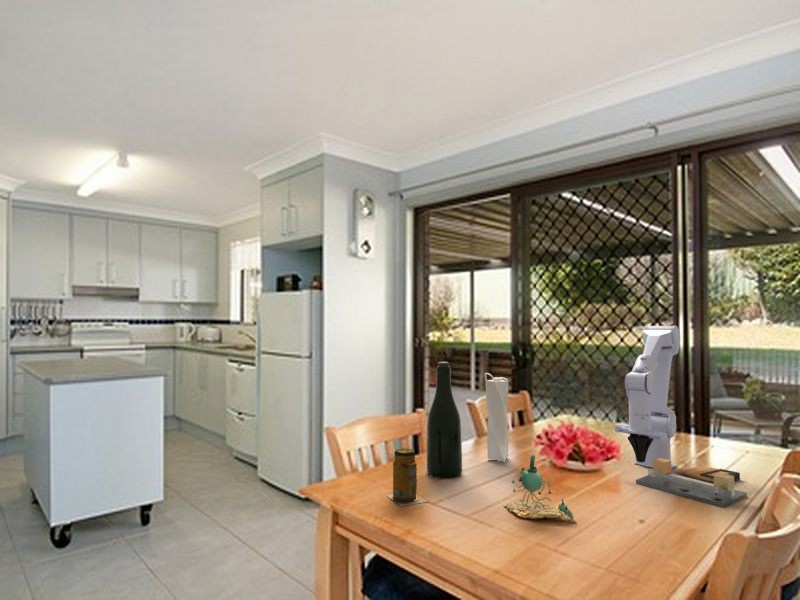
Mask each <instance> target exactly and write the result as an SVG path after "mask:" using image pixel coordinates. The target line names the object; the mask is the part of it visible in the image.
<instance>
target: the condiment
mask: <svg viewBox="0 0 800 600" xmlns="http://www.w3.org/2000/svg"><path fill="white" fill-rule="evenodd" d="M417 473H418V469H417V461H416V452H415V450H414V449H412V448H405V447H403V448H397V449H396V450H395V451H394V461H393V462H392V493H391V494H390V493H389V494H386V495H385V496H386V497H387V498H389V499H390V500H392V502H394V503H395V504H397V505H399V506H400V507H402V506H403V507H405V506H410V505H411V506H412V505H417V504H421V503H422V504H423V503H427V501H426V500H425V499H424V498H422V497H421V496H419V499H418V500H416V501H414V500H415V499H416V495H417V489H418V487H417V486H418V483H417V482H418V479H417V478H418V477H417ZM392 495H393V497H392ZM391 498H393V499H391Z"/></svg>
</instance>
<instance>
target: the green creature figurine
mask: <svg viewBox="0 0 800 600" xmlns="http://www.w3.org/2000/svg"><path fill="white" fill-rule="evenodd" d="M529 459H530V460H529V468H526V470H525V467H522V468H521V471H520V477H519V478H518V481H519V482H521V485H520V486H518V485H517V484H516V482H515V480H514V479H512V480H511V484H514V485H515V486H516V487H517V488H518V489H519V490H516V489H515V488H513V490H512V492H513V493H516V492H521V490H520V489H521V488H522V487H523V489H522V492H524V496H523V499H522V500H521V499H519V500H518V501H519V502H517V501H514V502H506V503H505V504H502V505H503V506H502V507H505V508H506V509H507V510H508V512H510V513H514V514H516V516H517V517H520V518H524V519H527V518H528V519H533V520H534V519H543V518H548V519H550V518H551V519H555V520H557V521H559V522H560V521H563V522H565V523H571V524H572V523H577V521H576V519H574V514H573V512H572V511H570V509H569V508H568V505H567V504H565V503H564V498H562V499H561V503H559V505H558V506H555V505H552V504H550V503H551V502H552V500H551V498H549V497H548V496H546V497H544V498H540V499H539V498H538V496H536V495H535V494H534V493H535V492H537V493H538V495H539V496H541V495H542V492H543V490H544V488H545V487H546V485H545V484H544V483H547V484H548V490H549V491H548V492H547V494H549V495H552V491H551V488H550V482H549V481H547V480H543V478H542V477H543V476H542V474H541V473H540V472H538V468H537V467H536V466H535V462H536V461H535V460H536V456H535V454H532V455H530V457H529ZM543 482H544V483H543ZM542 486H543V487H542ZM525 490H526V491H525ZM527 493H528V495H527V498H526V494H527ZM530 495H531V500H529V497H530ZM533 497H534V498H535V499H536V501H535V500H534V498H533ZM525 498H526V499H527V500H525ZM546 499H547V500H548V501H549V502H550V503H544V502H540V501H543V500H546Z"/></svg>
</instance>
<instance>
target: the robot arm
mask: <svg viewBox="0 0 800 600" xmlns="http://www.w3.org/2000/svg"><path fill="white" fill-rule="evenodd" d="M641 335H642V340H643V343H644V348H643V351H642V354H640V355H638V356H637V358H636V360H635V363H634V365H633V367H632V370H631V371H630V372H629V373H626V374H625V377H624V388H625V391H626V397H627V398H628V421H629V422H628V424H629V425H623V424H615V425H614V431H615V432H616V433H621V434H622V433H623V434H628V435H629V436H627V441H628V442H629V443H630V445H631V447H632V449H633V453H634V456H635V457H634V458H635V461H634V462H633V463H634V464H636V465H640V466H643V467H648V468H650V469H653V460H655V459H658V458H662V459H666V460H671V461H672V457H671V456H672V455H671V439H673V438H674V437H675V435H676V433H677V416H676V413H675V412H674V411H673V410H672V409H671V408H670V407H668V400H669V399H668V397H669V389H670V379H671V371H672V361H673V357H674V356H676V355H678V354H679V350H680V345H681V333H680V328H679V327H678V326H677V325H645V326H644V327H643V329H642V334H641ZM677 466H678V464H675V463H672V462H671V469H673V468H676V467H677Z"/></svg>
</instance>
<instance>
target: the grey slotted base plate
mask: <svg viewBox="0 0 800 600" xmlns="http://www.w3.org/2000/svg"><path fill="white" fill-rule="evenodd" d="M652 471H653V468H649V469H647V475H645V476H642V477H639V478H637V479H635V484H638V485H641V486H645V487H648V488H650V489H651V488H652V489H655V490H659V491H662V492H665V493H666V492H667V493H670V494H674V495H676V496H677V495H678V496H681V497H684V498H687V499H692V500H695V501H698V502H702V503H706V504H708V505H713V506H716V507H720V508H727V507H729V506H730V505H732V504H735V503H737V502H739V501H741V500H742V499H743V500H744V499H745V498H747V497H748V492H745V491H741V490H738V489H735V481H734V476H732V475H727V474H723V473H719V474H716V475H714V484H712V483H708V482H704V481H700V480H699V479H695V478H692V477H689V476H687V477H686V476H684V475H679V474H675V473H672V472H669V473H666V474H663V473H657V474H656V479H653V478H652V473H651V472H652Z"/></svg>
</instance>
